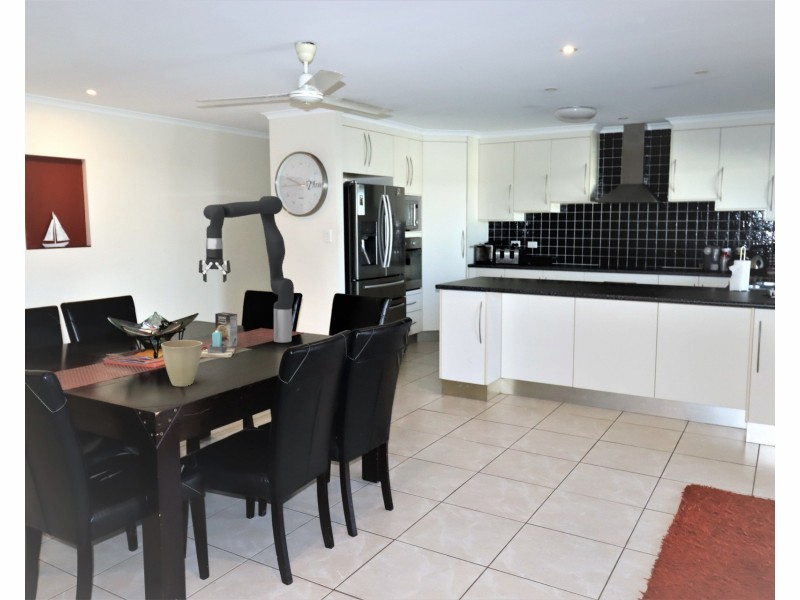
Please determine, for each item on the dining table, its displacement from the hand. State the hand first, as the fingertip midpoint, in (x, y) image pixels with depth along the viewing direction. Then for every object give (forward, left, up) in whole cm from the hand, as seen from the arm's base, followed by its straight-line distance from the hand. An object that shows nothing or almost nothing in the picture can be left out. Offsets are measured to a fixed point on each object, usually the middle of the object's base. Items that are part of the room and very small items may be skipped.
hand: (214, 282), depth 293 cm
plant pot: (+60, -2, -33) cm, 69 cm away
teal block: (+7, +2, -32) cm, 33 cm away
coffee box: (-13, +3, -33) cm, 36 cm away
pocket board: (+7, +2, -33) cm, 34 cm away
